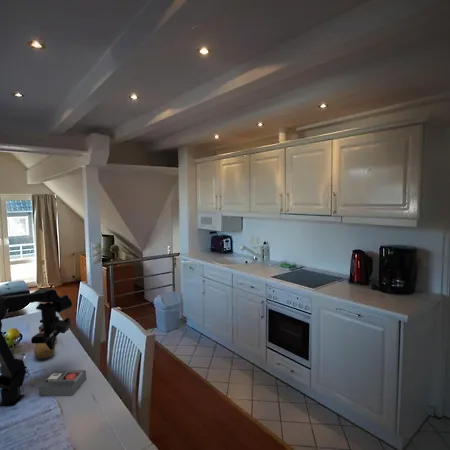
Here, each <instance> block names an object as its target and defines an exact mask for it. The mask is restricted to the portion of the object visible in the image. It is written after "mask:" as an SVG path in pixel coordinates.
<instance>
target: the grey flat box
mask: <svg viewBox="0 0 450 450" xmlns="http://www.w3.org/2000/svg"><path fill="white" fill-rule="evenodd" d="M61 373H62V377H61V378H60V380H59V381H58V382H48V378H49V377H50V376H51V375H52V374H61ZM71 373H75V374H76V378H75V379H74V380H66V376H67V375H68V374H71ZM86 380H87V371H86V369H85V370H83V369H82V370H78V369H77V370H54V371H53V372H52V373H51V374H50V375H49V376H48V377H46V379H45V380H44V381H43V382H42V383H41V384H39V386H37V387H38V397H62V396H63V397H67V396H70V397H71V396H72V397H73V396H74V394H76V392H77V391H78V390H79V389H80V387H81V386H82V385H83V384H84V382H85V381H86Z"/></svg>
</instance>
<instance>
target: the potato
mask: <svg viewBox="0 0 450 450" xmlns="http://www.w3.org/2000/svg"><path fill="white" fill-rule="evenodd" d="M33 351H34V352H33V353H34V356H36V357H37V358H38V359H47V358H49V357H51V356H52V355H53V354H54V352H55V351H56V344H55V345H54V349H53V350H50V349H49V347H48V346H47V345H46V343H36V345H35V347H34V350H33Z"/></svg>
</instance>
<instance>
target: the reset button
mask: <svg viewBox="0 0 450 450" xmlns="http://www.w3.org/2000/svg"><path fill="white" fill-rule="evenodd" d="M75 378H76V374H75V373H71V374H68V375H67V376H66V380H74V379H75Z"/></svg>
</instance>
